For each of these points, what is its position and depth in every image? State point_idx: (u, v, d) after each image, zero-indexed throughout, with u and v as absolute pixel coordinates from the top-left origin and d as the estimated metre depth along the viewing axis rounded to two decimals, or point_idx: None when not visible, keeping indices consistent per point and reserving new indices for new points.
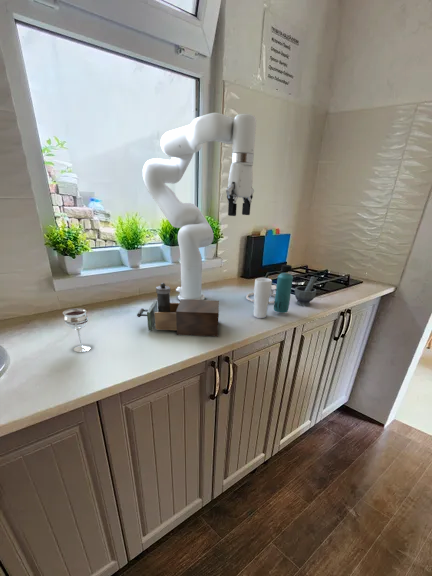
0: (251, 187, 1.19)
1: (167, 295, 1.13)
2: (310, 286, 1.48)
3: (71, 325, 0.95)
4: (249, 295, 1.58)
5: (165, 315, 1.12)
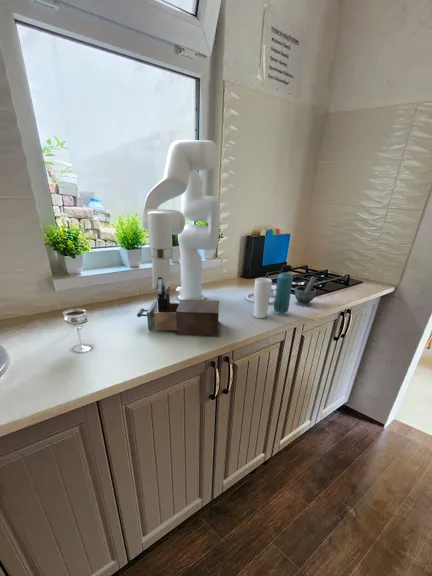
0: None
1: (167, 295, 1.13)
2: (310, 286, 1.48)
3: (71, 325, 0.95)
4: (249, 295, 1.58)
5: (165, 315, 1.12)
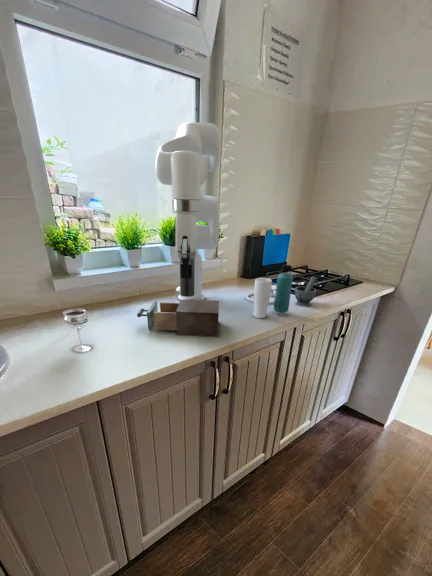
0: None
1: (192, 261, 0.93)
2: (310, 286, 1.48)
3: (71, 325, 0.95)
4: (249, 295, 1.58)
5: (165, 315, 1.12)
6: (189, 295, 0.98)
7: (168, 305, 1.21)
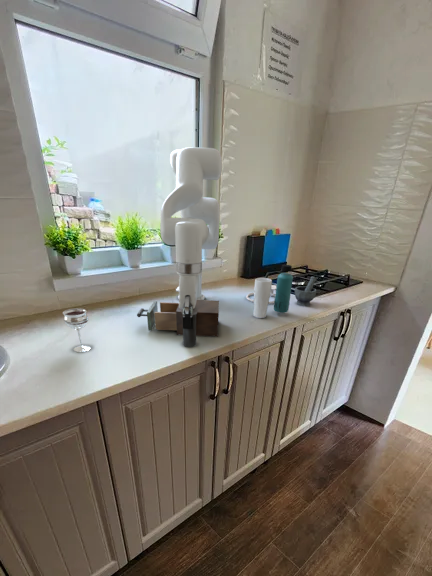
0: None
1: (194, 316, 1.01)
2: (310, 286, 1.48)
3: (71, 325, 0.95)
4: (249, 295, 1.58)
5: (165, 315, 1.12)
6: (191, 346, 1.06)
7: (168, 305, 1.21)
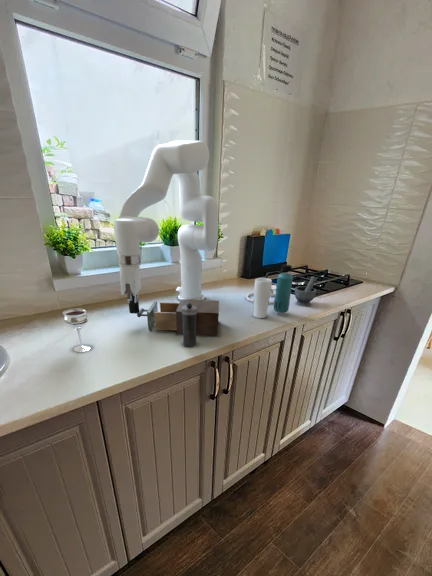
0: (140, 281, 1.16)
1: (194, 316, 1.01)
2: (310, 286, 1.48)
3: (71, 325, 0.95)
4: (249, 295, 1.58)
5: (165, 315, 1.12)
6: (191, 346, 1.06)
7: (168, 305, 1.21)
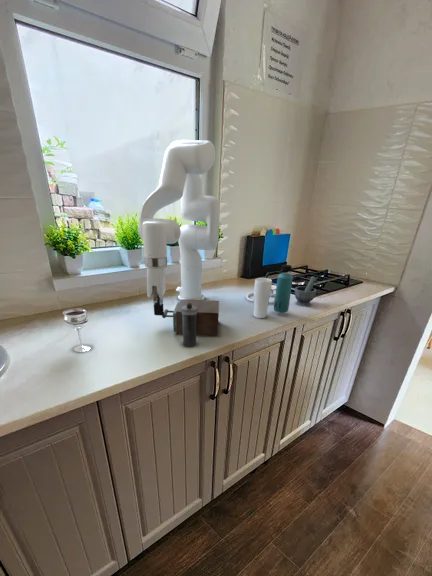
0: None
1: (194, 316, 1.01)
2: (310, 286, 1.48)
3: (71, 325, 0.95)
4: (249, 295, 1.58)
5: None
6: (191, 346, 1.06)
7: None
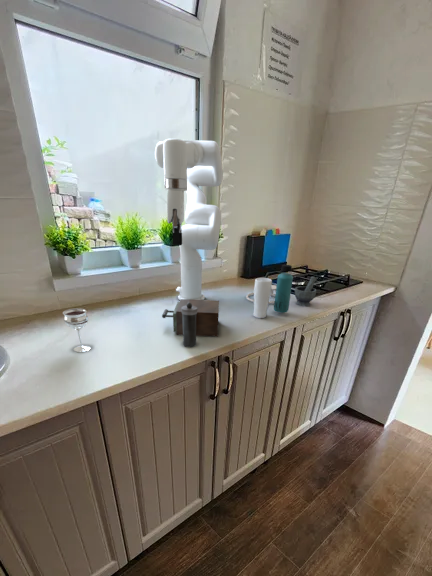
0: None
1: (194, 316, 1.01)
2: (310, 286, 1.48)
3: (71, 325, 0.95)
4: (249, 295, 1.58)
5: None
6: (191, 346, 1.06)
7: None
